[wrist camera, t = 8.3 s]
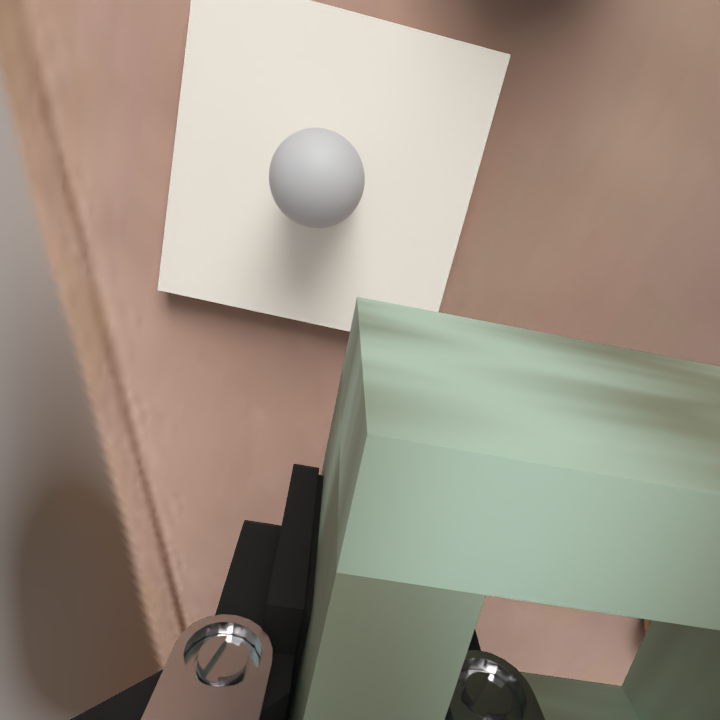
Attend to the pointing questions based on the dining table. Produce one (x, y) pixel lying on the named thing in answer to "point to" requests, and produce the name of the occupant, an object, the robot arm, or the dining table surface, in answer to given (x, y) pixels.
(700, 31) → the dining table surface
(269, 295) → the post board
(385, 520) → the collar
